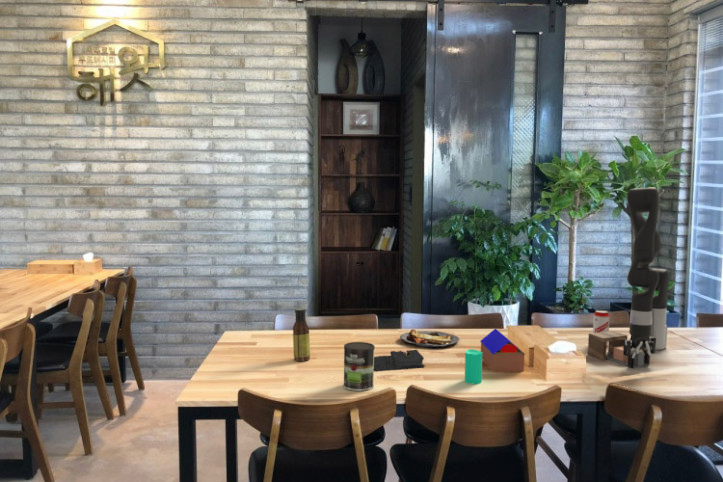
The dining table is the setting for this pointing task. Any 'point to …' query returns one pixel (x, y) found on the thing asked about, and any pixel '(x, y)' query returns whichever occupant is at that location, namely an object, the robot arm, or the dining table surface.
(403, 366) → the dark slate chunk
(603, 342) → the tunnel
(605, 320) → the beer can
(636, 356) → the sled
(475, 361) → the candle
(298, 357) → the sauce bottle
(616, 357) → the block
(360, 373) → the coffee can
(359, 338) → the dining table surface
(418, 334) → the food plate
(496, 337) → the house
